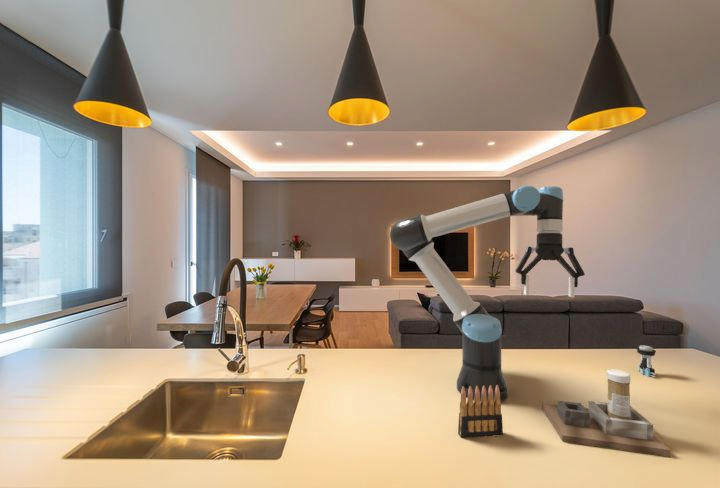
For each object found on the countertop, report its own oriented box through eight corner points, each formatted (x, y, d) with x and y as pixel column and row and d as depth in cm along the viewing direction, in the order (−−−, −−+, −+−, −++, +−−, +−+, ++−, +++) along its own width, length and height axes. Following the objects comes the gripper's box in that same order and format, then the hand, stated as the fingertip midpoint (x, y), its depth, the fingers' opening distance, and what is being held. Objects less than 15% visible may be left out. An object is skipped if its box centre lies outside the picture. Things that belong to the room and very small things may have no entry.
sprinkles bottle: (608, 419, 82) (607, 367, 82) (631, 425, 79) (630, 371, 79) (606, 426, 79) (605, 372, 79) (630, 433, 76) (629, 377, 76)
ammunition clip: (498, 431, 79) (498, 383, 79) (503, 435, 77) (503, 386, 78) (457, 433, 78) (458, 384, 78) (461, 438, 76) (461, 388, 76)
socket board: (562, 441, 75) (562, 420, 75) (542, 408, 90) (541, 390, 90) (670, 456, 70) (669, 434, 70) (628, 418, 85) (628, 400, 85)
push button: (663, 379, 111) (662, 350, 111) (646, 378, 112) (646, 349, 112) (648, 371, 118) (648, 344, 118) (632, 370, 119) (632, 344, 119)
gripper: (586, 234, 108) (586, 296, 107) (507, 233, 114) (506, 292, 114) (597, 232, 100) (596, 299, 100) (511, 231, 107) (510, 294, 106)
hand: (548, 295), depth 107 cm, fingers open, 13 cm apart
